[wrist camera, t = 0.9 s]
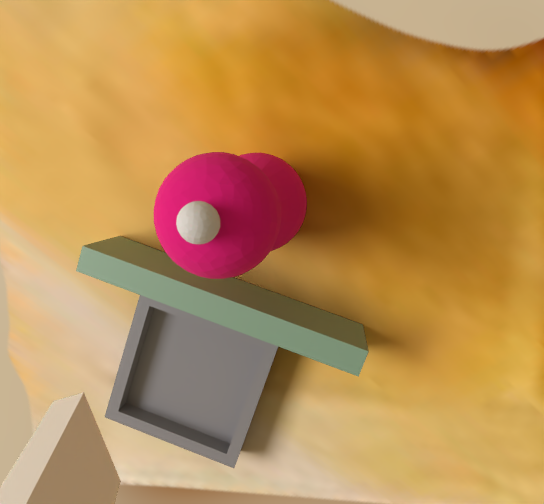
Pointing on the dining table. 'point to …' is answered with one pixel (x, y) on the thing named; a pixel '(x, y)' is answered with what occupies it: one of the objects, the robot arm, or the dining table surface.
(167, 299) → the board
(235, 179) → the pepper mill
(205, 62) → the dining table surface
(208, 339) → the tray
